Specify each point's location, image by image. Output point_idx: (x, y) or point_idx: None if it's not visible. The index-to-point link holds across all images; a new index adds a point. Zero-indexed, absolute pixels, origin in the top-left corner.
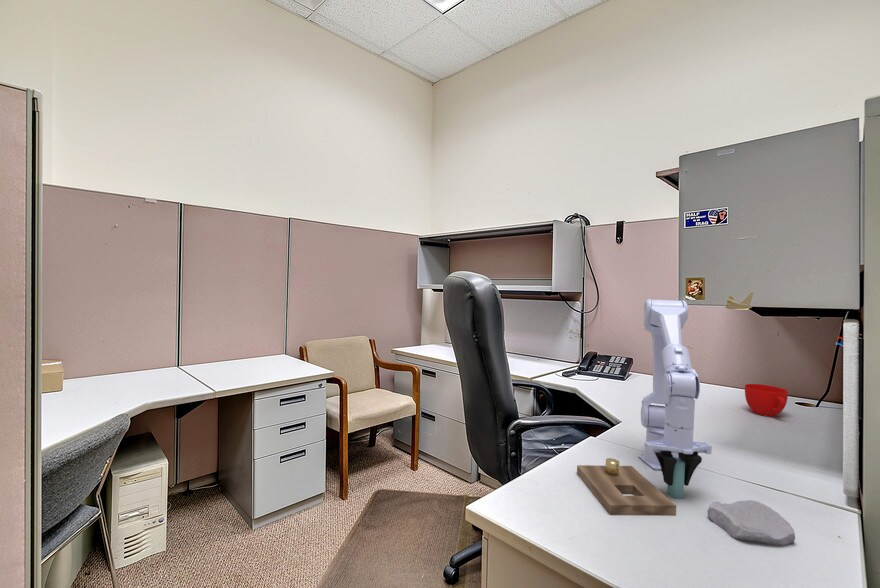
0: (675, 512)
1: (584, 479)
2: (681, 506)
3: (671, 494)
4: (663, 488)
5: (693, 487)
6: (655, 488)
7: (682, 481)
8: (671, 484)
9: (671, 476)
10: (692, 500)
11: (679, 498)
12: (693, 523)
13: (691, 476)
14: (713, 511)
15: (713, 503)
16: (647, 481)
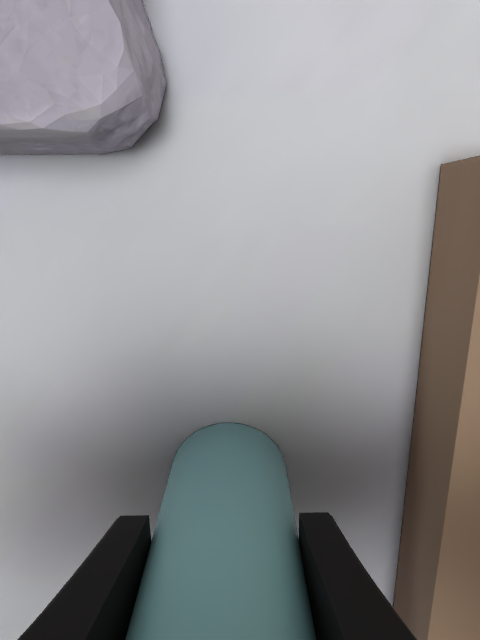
0: (458, 161)
1: None
2: (288, 310)
3: (280, 460)
4: None
5: (14, 575)
6: (464, 486)
7: (192, 542)
8: (308, 521)
9: (356, 601)
10: (132, 402)
11: (230, 423)
12: (366, 21)
13: (45, 609)
14: (122, 19)
15: (51, 93)
16: (451, 595)
